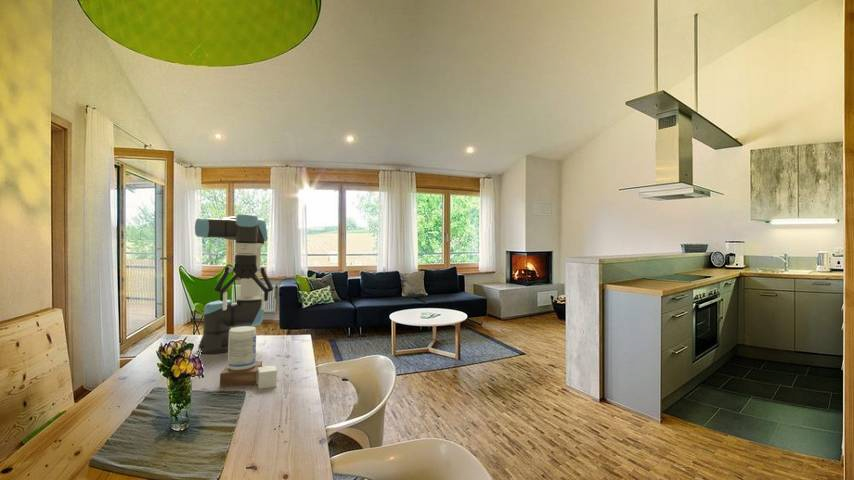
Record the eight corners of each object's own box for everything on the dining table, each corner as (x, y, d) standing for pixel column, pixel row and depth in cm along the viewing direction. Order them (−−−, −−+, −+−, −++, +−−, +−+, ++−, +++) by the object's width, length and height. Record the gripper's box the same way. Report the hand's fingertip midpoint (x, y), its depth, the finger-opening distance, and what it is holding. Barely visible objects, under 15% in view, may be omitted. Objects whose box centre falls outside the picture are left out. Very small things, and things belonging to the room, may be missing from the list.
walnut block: (229, 375, 147) (229, 362, 147) (261, 373, 150) (262, 361, 150) (219, 387, 135) (220, 373, 135) (255, 385, 138) (255, 371, 138)
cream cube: (257, 383, 140) (258, 367, 140) (274, 380, 143) (275, 365, 143) (258, 389, 135) (259, 372, 135) (276, 386, 138) (276, 370, 138)
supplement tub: (259, 367, 142) (260, 329, 142) (232, 373, 136) (233, 333, 136) (250, 361, 149) (251, 324, 149) (224, 366, 143) (225, 328, 143)
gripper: (206, 254, 136) (204, 311, 136) (279, 255, 142) (277, 311, 142) (213, 253, 143) (211, 307, 143) (281, 254, 149) (280, 307, 149)
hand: (244, 309), depth 143 cm, fingers open, 13 cm apart
